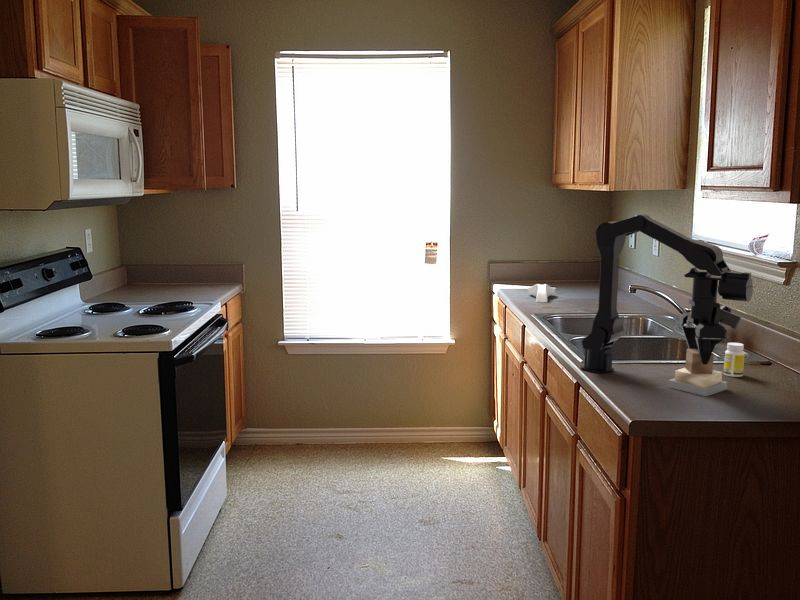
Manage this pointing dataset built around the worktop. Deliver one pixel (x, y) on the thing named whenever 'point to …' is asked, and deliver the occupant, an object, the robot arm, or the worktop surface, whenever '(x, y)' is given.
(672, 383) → the grey base block
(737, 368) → the supplement bottle
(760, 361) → the worktop surface
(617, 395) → the worktop surface
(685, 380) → the birch top block
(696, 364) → the walnut cube
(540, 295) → the spoon rest
